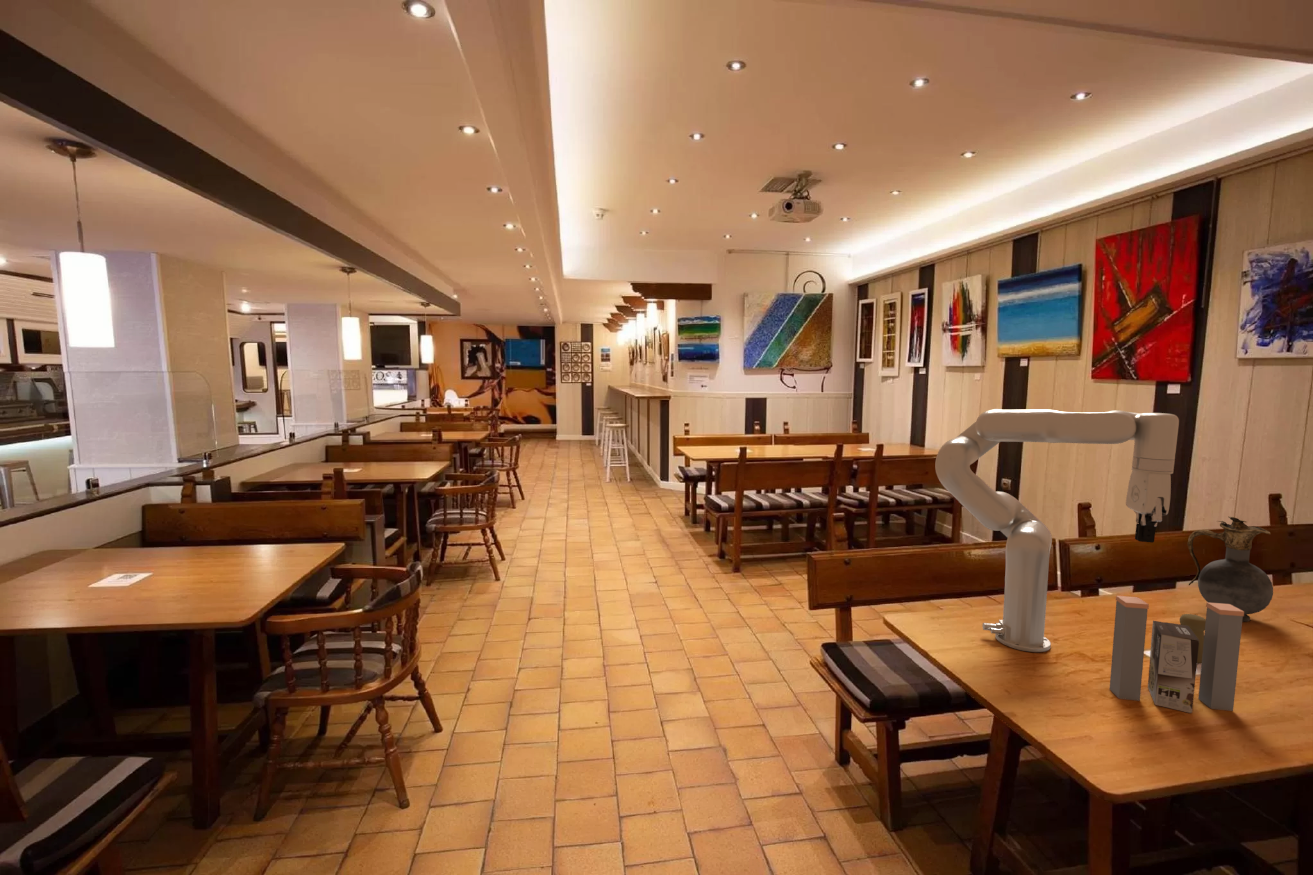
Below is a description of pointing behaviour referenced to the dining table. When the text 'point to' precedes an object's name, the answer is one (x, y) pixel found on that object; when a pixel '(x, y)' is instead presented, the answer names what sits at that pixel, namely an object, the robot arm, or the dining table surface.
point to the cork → (1195, 629)
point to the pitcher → (1234, 571)
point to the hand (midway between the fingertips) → (1144, 540)
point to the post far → (1220, 655)
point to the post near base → (1128, 647)
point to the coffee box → (1173, 665)
